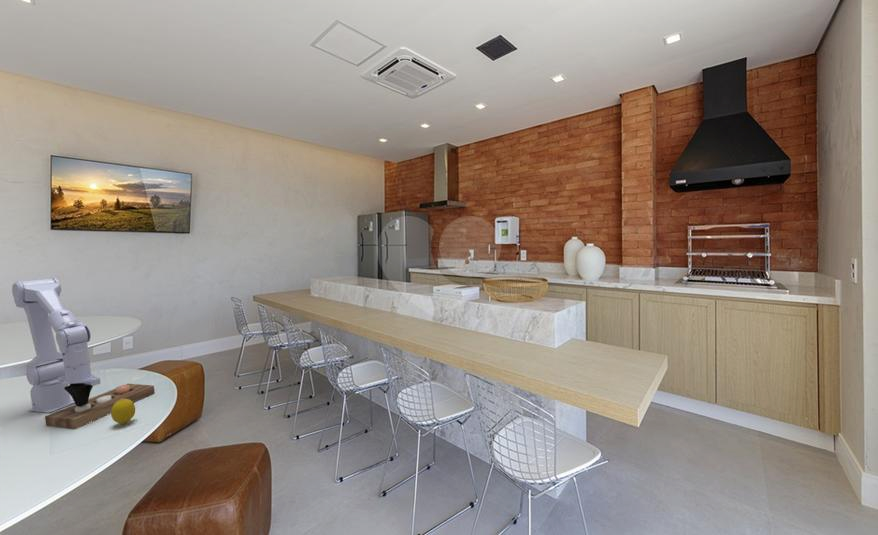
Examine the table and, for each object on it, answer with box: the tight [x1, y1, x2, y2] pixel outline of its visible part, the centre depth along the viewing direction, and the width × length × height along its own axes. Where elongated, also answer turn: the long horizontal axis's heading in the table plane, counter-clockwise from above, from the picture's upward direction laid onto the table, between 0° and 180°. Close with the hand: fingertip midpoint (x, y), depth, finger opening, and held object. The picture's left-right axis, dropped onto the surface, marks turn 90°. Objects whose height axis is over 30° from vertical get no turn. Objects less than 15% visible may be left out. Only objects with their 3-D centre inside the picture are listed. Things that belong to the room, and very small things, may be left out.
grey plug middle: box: [96, 395, 111, 403], centre depth 119 cm, size 4×4×3 cm
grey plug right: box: [75, 404, 91, 412], centre depth 113 cm, size 4×4×3 cm
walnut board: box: [44, 383, 156, 430], centre depth 119 cm, size 12×24×3 cm, turn 168°
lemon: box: [110, 398, 136, 425], centre depth 108 cm, size 6×6×8 cm
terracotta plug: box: [115, 384, 130, 395], centre depth 125 cm, size 4×4×3 cm
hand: (82, 405), depth 113 cm, fingers closed
